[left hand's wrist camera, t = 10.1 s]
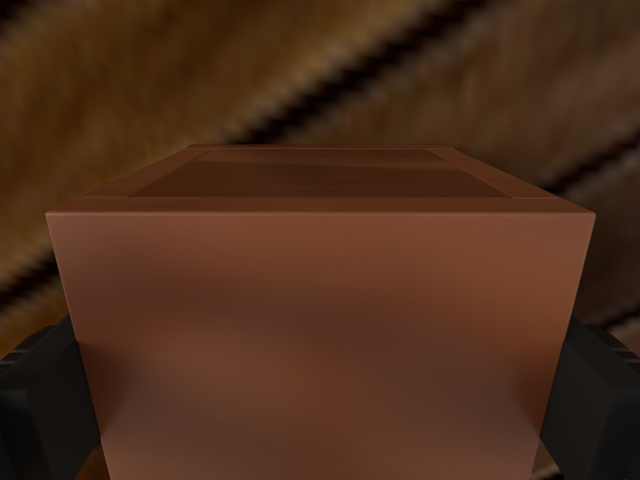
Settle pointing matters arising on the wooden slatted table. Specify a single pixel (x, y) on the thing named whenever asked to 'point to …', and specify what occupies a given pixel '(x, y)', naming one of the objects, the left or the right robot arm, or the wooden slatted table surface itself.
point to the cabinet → (320, 312)
